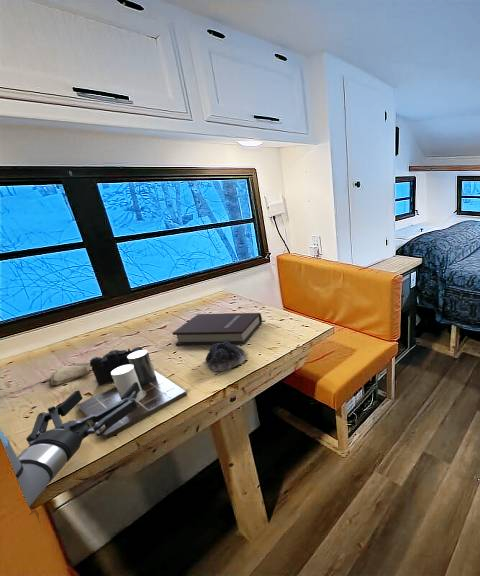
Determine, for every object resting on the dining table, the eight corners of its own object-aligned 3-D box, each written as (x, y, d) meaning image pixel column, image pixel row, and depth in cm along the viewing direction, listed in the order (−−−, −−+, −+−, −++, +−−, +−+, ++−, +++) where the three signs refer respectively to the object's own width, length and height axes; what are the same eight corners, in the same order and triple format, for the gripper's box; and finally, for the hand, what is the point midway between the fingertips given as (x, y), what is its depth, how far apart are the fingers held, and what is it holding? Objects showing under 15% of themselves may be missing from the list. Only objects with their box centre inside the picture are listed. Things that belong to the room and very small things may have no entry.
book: (262, 322, 142) (260, 311, 139) (244, 344, 123) (241, 331, 121) (203, 324, 142) (200, 312, 140) (176, 345, 124) (172, 332, 122)
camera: (150, 358, 115) (142, 335, 112) (149, 372, 107) (140, 347, 103) (102, 371, 108) (92, 347, 104) (97, 387, 99) (86, 361, 96)
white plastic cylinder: (118, 399, 91) (107, 371, 88) (139, 389, 95) (129, 362, 92) (126, 405, 89) (114, 377, 85) (146, 395, 93) (136, 367, 89)
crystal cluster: (223, 352, 119) (215, 330, 115) (254, 352, 117) (247, 330, 113) (200, 375, 107) (189, 352, 103) (234, 375, 105) (224, 352, 101)
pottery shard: (52, 391, 100) (88, 375, 104) (43, 381, 99) (80, 365, 102) (66, 375, 109) (98, 361, 113) (57, 366, 108) (91, 352, 111)
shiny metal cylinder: (133, 382, 99) (124, 355, 96) (152, 373, 103) (143, 348, 100) (140, 387, 96) (131, 360, 93) (159, 378, 101) (150, 352, 97)
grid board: (78, 408, 90) (76, 404, 90) (154, 373, 106) (153, 369, 106) (107, 439, 79) (105, 434, 79) (187, 395, 95) (186, 390, 94)
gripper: (-20, 482, 62) (59, 409, 81) (121, 456, 67) (163, 394, 86) (-38, 455, 59) (48, 386, 79) (110, 430, 64) (156, 371, 84)
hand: (108, 390), depth 83 cm, fingers open, 13 cm apart
